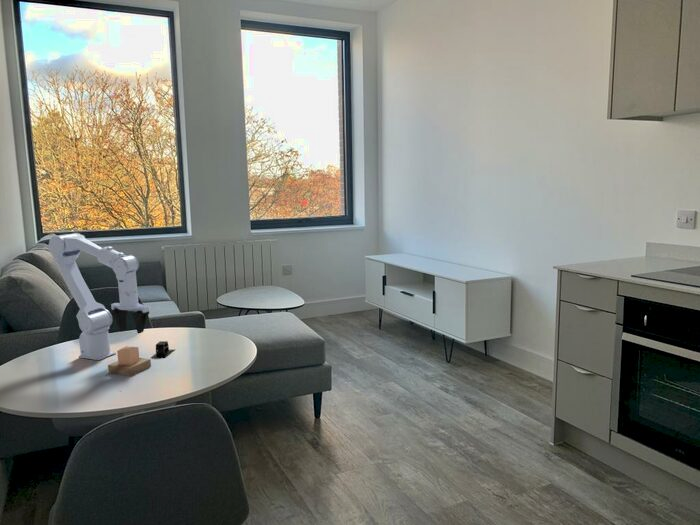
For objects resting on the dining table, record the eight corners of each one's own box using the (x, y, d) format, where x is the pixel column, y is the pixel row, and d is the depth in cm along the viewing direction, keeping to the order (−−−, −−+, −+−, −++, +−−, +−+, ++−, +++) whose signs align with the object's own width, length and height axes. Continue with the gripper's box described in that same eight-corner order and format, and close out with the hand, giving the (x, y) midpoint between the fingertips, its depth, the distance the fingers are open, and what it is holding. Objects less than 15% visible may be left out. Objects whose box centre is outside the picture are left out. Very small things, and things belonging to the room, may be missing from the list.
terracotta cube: (118, 364, 172) (117, 350, 171) (127, 359, 176) (126, 346, 175) (130, 365, 171) (129, 351, 170) (139, 360, 175) (138, 347, 174)
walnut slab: (108, 374, 172) (107, 365, 171) (130, 365, 180) (129, 356, 179) (130, 377, 168) (129, 368, 168) (151, 368, 176) (150, 359, 176)
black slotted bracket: (165, 361, 183) (164, 348, 182) (144, 361, 183) (143, 348, 182) (179, 349, 195) (178, 337, 194) (159, 349, 195) (158, 337, 195)
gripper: (102, 293, 179) (106, 332, 181) (135, 295, 173) (139, 336, 175) (118, 289, 185) (122, 327, 187) (151, 291, 180) (155, 330, 182)
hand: (131, 331), depth 182 cm, fingers open, 7 cm apart
